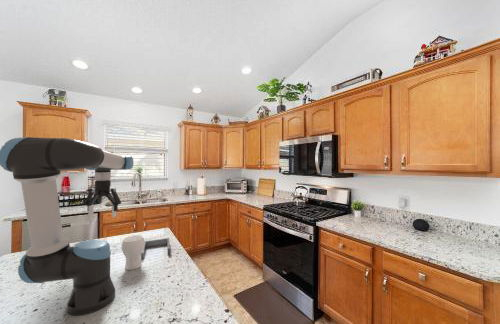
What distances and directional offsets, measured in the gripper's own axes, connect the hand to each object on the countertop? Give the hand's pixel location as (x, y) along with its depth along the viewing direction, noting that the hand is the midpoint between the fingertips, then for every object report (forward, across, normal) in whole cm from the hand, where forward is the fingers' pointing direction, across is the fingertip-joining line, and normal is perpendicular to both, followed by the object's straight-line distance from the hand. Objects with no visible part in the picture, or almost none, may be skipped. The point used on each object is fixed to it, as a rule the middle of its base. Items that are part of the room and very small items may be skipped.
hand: (102, 216), depth 118 cm
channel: (+24, -26, -12) cm, 37 cm away
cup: (+25, -23, +7) cm, 34 cm away
